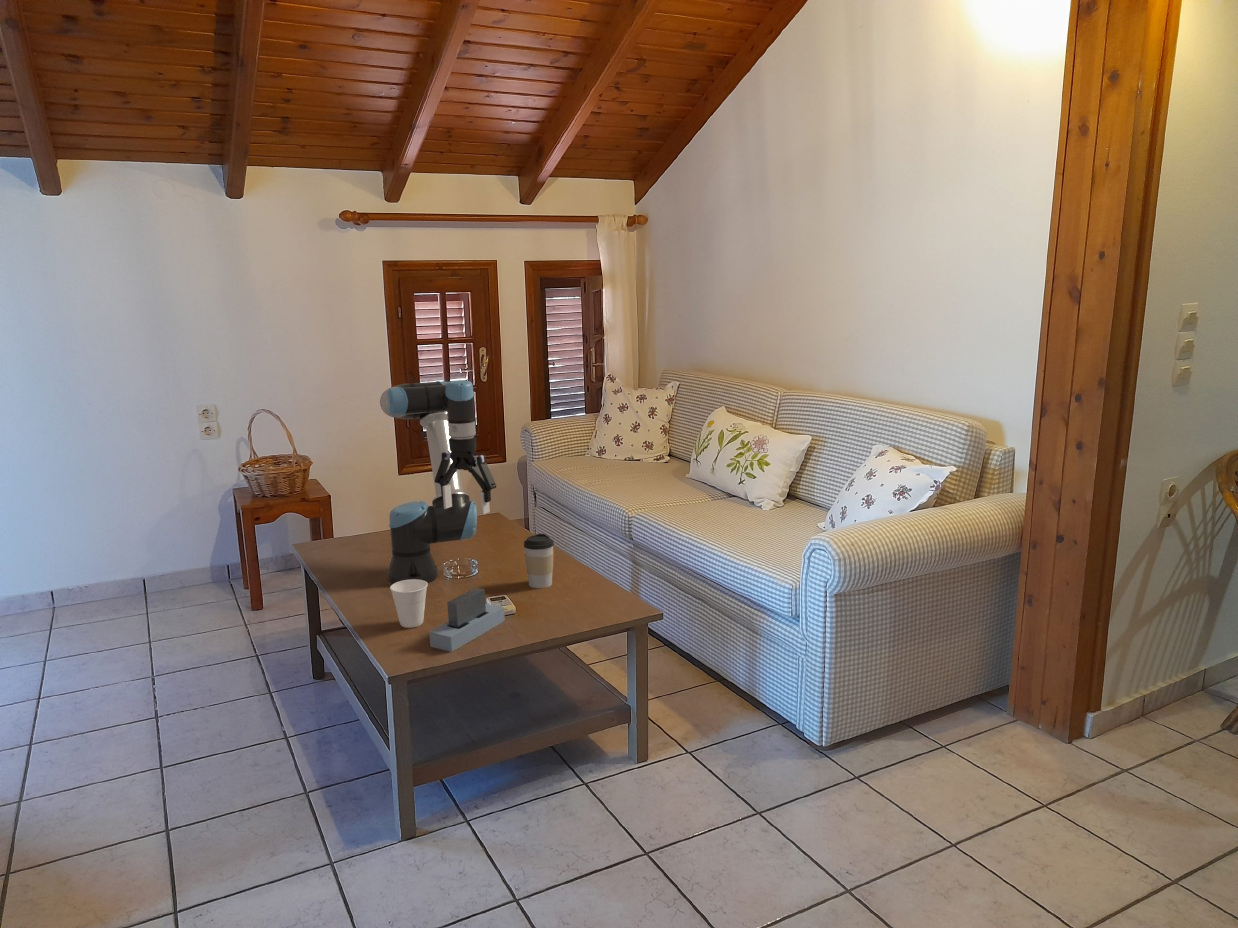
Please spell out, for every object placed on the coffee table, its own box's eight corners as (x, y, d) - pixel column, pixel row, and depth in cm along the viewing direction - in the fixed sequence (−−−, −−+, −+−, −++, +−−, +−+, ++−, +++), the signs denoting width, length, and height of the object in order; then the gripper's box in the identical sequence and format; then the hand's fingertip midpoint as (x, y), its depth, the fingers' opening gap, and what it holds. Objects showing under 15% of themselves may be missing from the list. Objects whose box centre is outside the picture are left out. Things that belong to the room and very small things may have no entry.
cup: (396, 617, 244) (393, 580, 242) (432, 615, 245) (429, 578, 243) (390, 632, 235) (386, 593, 232) (428, 630, 235) (425, 591, 233)
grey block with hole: (430, 646, 225) (429, 631, 224) (484, 616, 244) (483, 602, 243) (451, 651, 222) (450, 636, 221) (504, 621, 240) (504, 607, 240)
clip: (449, 638, 229) (447, 602, 226) (477, 622, 238) (475, 587, 236) (458, 640, 227) (456, 604, 225) (486, 624, 237) (484, 589, 235)
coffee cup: (550, 590, 263) (548, 542, 259) (521, 588, 264) (519, 540, 261) (558, 579, 271) (557, 532, 268) (530, 578, 273) (528, 531, 270)
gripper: (418, 435, 249) (424, 508, 254) (489, 442, 237) (493, 518, 242) (436, 431, 256) (441, 502, 260) (506, 437, 244) (510, 512, 248)
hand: (466, 510), depth 251 cm, fingers open, 13 cm apart
